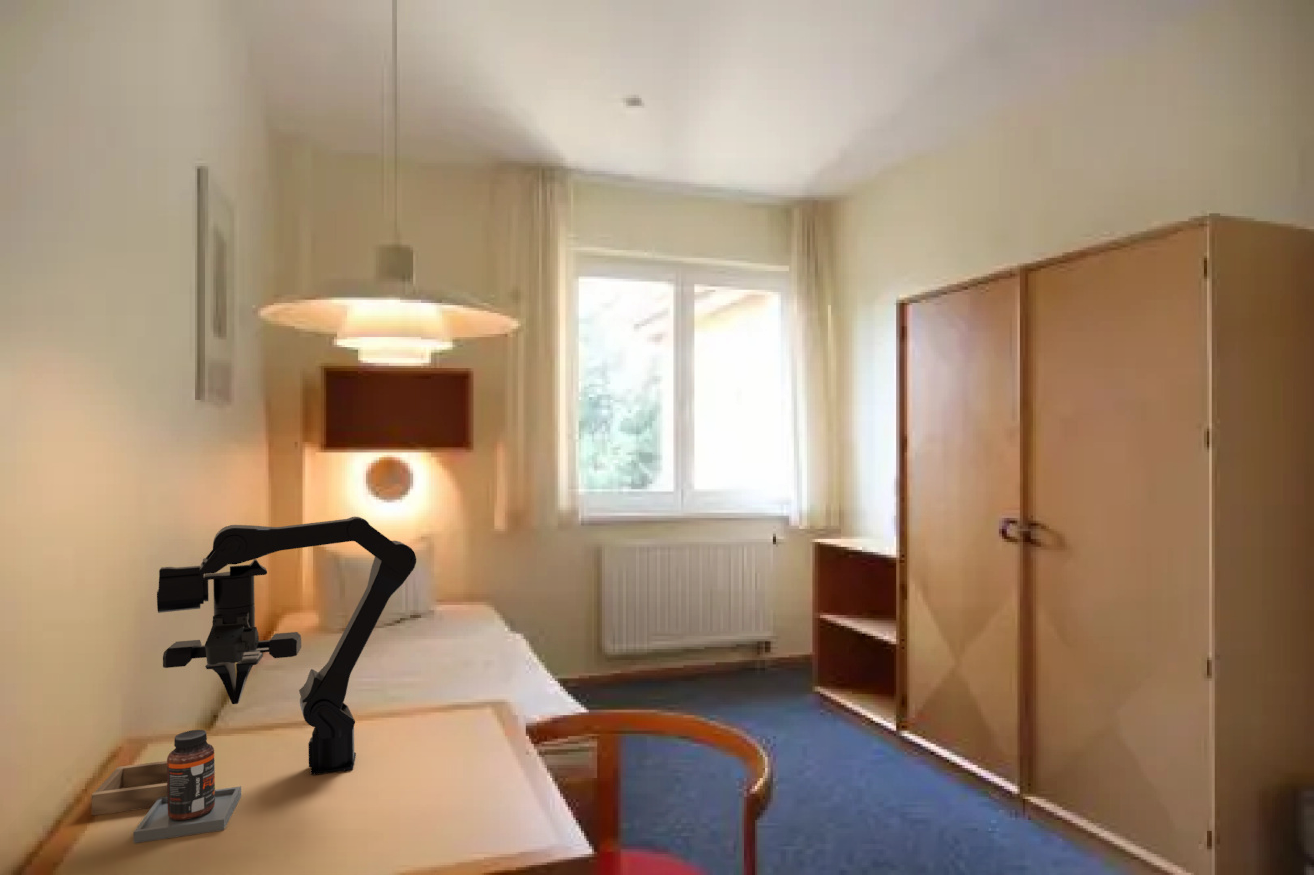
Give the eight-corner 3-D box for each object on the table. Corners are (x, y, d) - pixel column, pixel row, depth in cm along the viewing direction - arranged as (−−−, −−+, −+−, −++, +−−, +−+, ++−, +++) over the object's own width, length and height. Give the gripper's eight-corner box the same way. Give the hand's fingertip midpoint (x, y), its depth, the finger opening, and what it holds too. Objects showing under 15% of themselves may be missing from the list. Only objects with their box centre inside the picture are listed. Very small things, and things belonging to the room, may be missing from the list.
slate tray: (241, 796, 119) (241, 786, 119) (223, 830, 109) (223, 819, 109) (159, 807, 116) (159, 797, 116) (133, 843, 106) (133, 832, 106)
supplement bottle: (211, 817, 111) (210, 738, 111) (163, 825, 109) (161, 745, 109) (218, 799, 116) (216, 724, 116) (172, 807, 114) (170, 730, 114)
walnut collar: (192, 776, 127) (192, 757, 127) (173, 804, 117) (173, 784, 117) (118, 785, 124) (118, 766, 124) (91, 815, 114) (91, 795, 114)
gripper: (150, 620, 113) (151, 728, 113) (290, 610, 118) (291, 713, 118) (173, 605, 123) (174, 704, 123) (301, 597, 129) (302, 691, 129)
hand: (235, 703), depth 123 cm, fingers closed
